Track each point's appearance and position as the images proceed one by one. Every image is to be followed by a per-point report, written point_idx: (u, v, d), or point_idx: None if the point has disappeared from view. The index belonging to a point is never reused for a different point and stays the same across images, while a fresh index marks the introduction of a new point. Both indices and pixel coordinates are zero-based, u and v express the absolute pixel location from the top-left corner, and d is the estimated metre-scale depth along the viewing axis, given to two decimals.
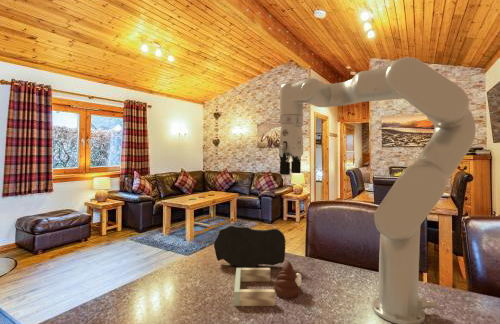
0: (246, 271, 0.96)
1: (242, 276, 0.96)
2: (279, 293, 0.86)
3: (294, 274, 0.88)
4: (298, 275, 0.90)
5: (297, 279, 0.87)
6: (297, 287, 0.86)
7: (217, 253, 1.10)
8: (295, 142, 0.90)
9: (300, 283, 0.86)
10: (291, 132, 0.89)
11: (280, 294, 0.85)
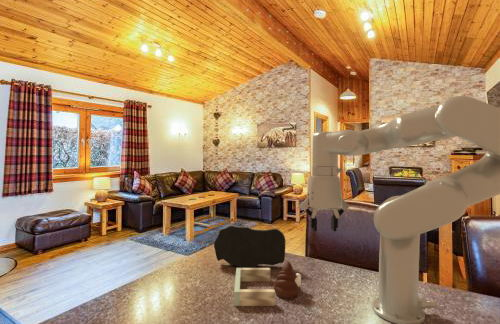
0: (246, 271, 0.96)
1: (242, 276, 0.96)
2: (279, 293, 0.86)
3: (294, 274, 0.88)
4: (298, 275, 0.90)
5: (297, 279, 0.87)
6: (297, 287, 0.86)
7: (217, 253, 1.10)
8: None
9: (300, 283, 0.86)
10: None
11: (280, 294, 0.85)
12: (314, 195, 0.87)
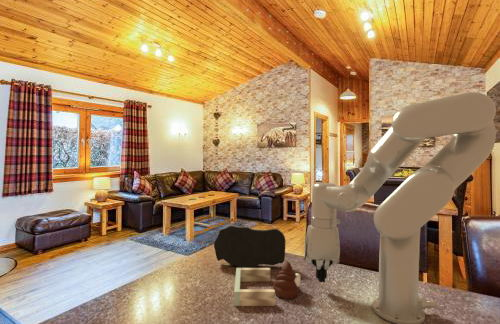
0: (246, 271, 0.96)
1: (242, 276, 0.96)
2: (278, 293, 0.86)
3: (293, 274, 0.88)
4: (297, 275, 0.90)
5: (296, 279, 0.87)
6: (296, 287, 0.86)
7: (217, 253, 1.10)
8: None
9: (299, 283, 0.86)
10: None
11: (279, 294, 0.85)
12: (312, 247, 0.87)
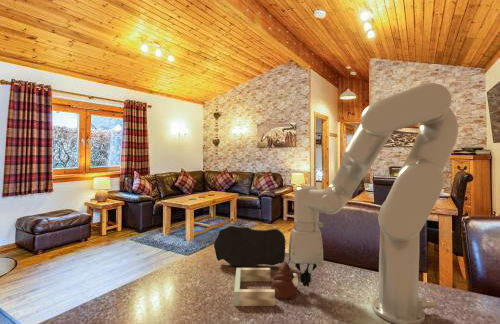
0: (246, 271, 0.96)
1: (242, 276, 0.96)
2: (276, 294, 0.85)
3: (291, 274, 0.88)
4: (295, 275, 0.89)
5: (294, 279, 0.86)
6: (294, 287, 0.86)
7: (217, 253, 1.10)
8: None
9: (297, 283, 0.86)
10: None
11: (277, 295, 0.85)
12: (295, 250, 0.87)
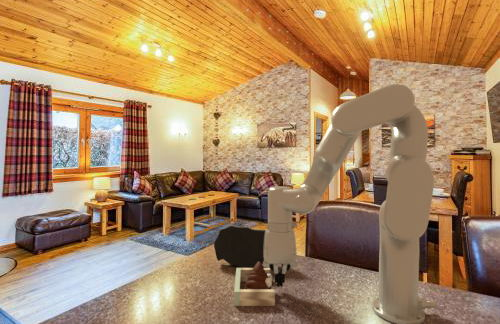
0: (246, 271, 0.96)
1: (242, 276, 0.96)
2: None
3: (264, 275, 0.87)
4: (269, 275, 0.89)
5: (267, 280, 0.86)
6: (267, 288, 0.86)
7: (217, 253, 1.10)
8: None
9: (270, 284, 0.86)
10: None
11: None
12: (268, 251, 0.87)
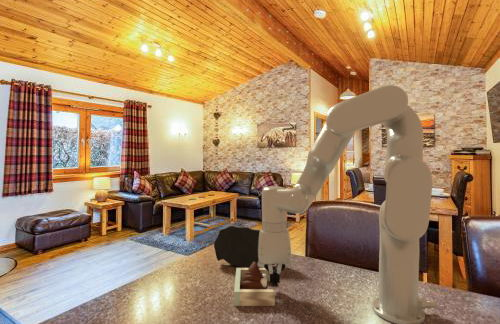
0: (246, 271, 0.96)
1: (242, 276, 0.96)
2: None
3: (260, 275, 0.87)
4: (264, 276, 0.89)
5: (262, 280, 0.86)
6: (262, 288, 0.86)
7: (217, 253, 1.10)
8: None
9: (265, 284, 0.86)
10: None
11: None
12: (262, 251, 0.87)
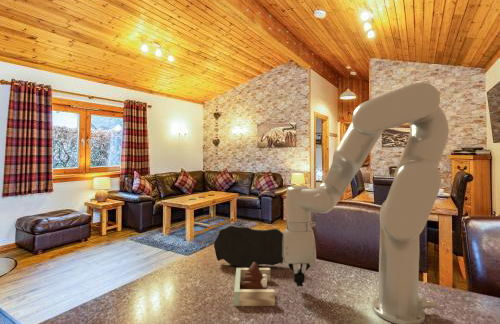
0: (246, 271, 0.96)
1: (242, 276, 0.96)
2: None
3: (260, 275, 0.87)
4: (264, 276, 0.89)
5: (262, 280, 0.86)
6: (262, 288, 0.85)
7: (217, 253, 1.10)
8: None
9: (265, 284, 0.86)
10: None
11: None
12: (287, 251, 0.87)
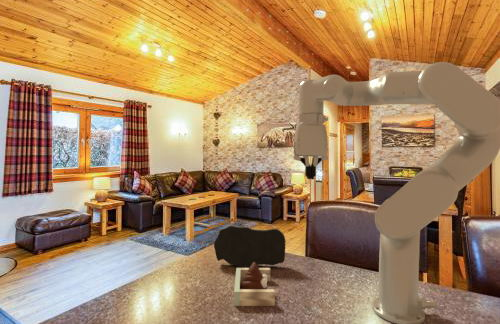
0: (246, 271, 0.96)
1: (242, 276, 0.96)
2: None
3: (260, 275, 0.87)
4: (264, 276, 0.89)
5: (262, 280, 0.86)
6: (262, 288, 0.85)
7: (217, 253, 1.10)
8: None
9: (265, 284, 0.85)
10: None
11: None
12: (300, 142, 0.88)
